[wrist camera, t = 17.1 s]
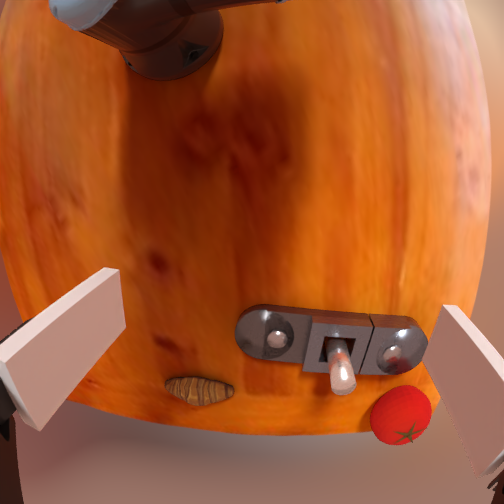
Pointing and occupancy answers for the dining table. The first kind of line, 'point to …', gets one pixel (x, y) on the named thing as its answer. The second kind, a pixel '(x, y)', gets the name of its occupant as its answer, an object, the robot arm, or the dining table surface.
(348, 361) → the steel pin
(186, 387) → the croissant
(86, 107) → the dining table surface
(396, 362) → the chain end
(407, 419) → the tomato
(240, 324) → the chain end
